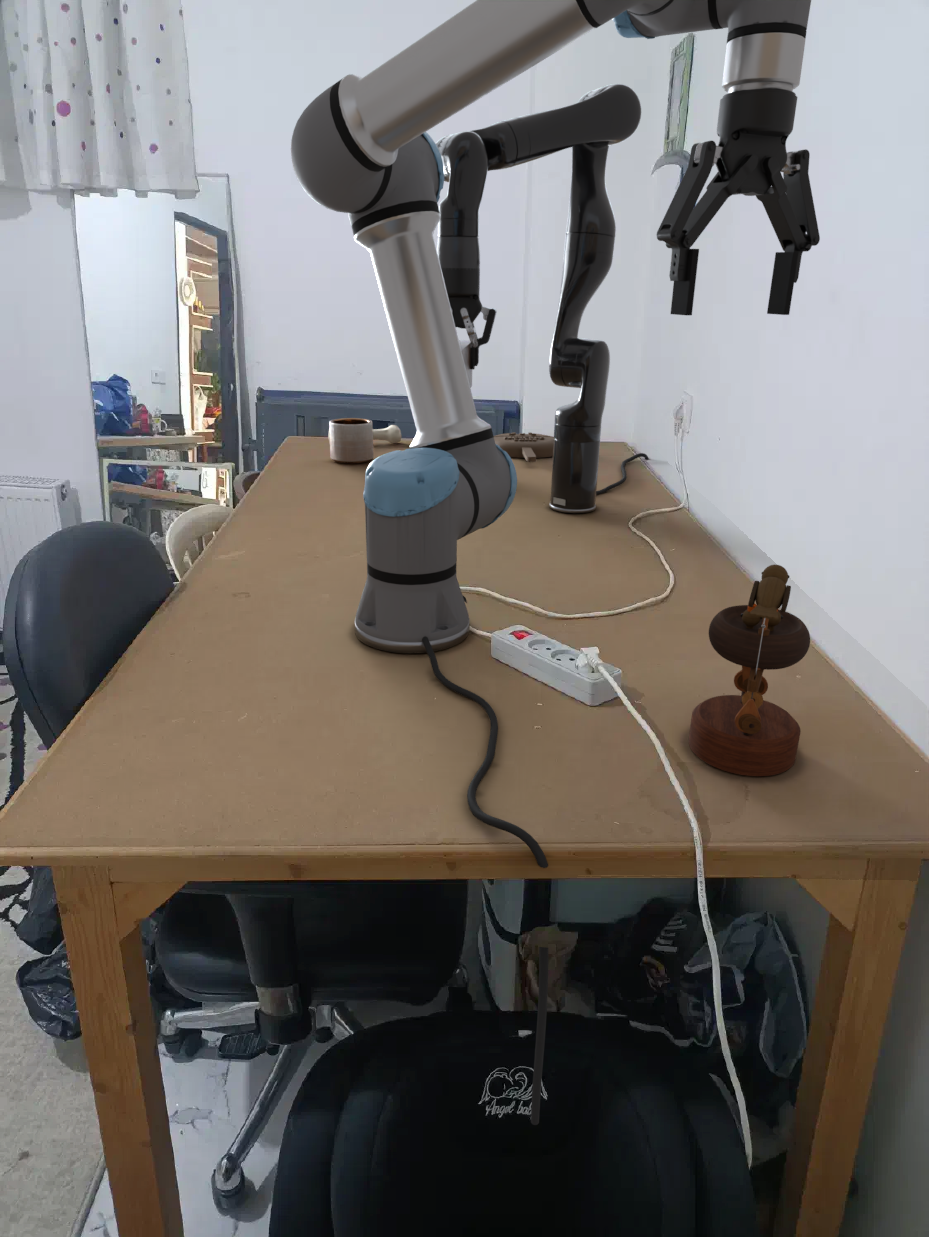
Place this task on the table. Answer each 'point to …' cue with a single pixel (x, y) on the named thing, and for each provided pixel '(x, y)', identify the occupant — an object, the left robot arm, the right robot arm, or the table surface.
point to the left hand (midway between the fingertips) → (730, 315)
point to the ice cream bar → (526, 445)
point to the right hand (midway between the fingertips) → (457, 368)
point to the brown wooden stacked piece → (752, 684)
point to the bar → (466, 357)
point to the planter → (351, 440)
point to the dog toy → (385, 434)
